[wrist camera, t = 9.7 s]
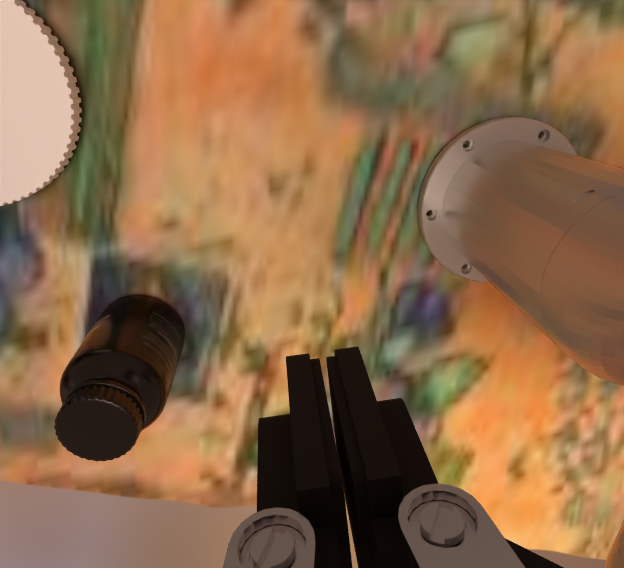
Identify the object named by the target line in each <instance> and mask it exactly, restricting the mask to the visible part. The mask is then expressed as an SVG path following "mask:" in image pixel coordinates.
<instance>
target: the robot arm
mask: <svg viewBox="0 0 624 568" xmlns="http://www.w3.org/2000/svg"><path fill="white" fill-rule="evenodd" d="M540 132H541V135H540V137H538V135H539V133H540ZM465 141H467V145H466V147H463V143H464V142H465ZM428 210H431V213H430V214H429V215H426V213H427V212H428ZM418 221H419V226H420V232H421V234H422V237H423V239H424V242H425V244H426V246H427V247H428V249H429V250H430V252H431V253H432V255H433V256H434V257H435V258H436V259H437V260H438V261H439V263H440V264H441V265H443V266H444V267H445V268H446V269H448V270H449V271H450V272H452V273H454V274H456V275H458V276H460V277H462V278H465V279H469V280H473V281H477V282H490V283H491V284H492V285H493V286H494V287H495V288H496V289H498V290H499V291H500V292H501V293H502V294H503V295H504V296H505V297H506V298H507V299H508V300H509V301H510V302H511V303H512V304H513V305H515V306H516V307H517V308H518V309H519V310H520V311H521V312H522V313H523V314H524V315H525V316H526V317H527V318H528V319H529V320H530V321H531V322H533V323H534V324H535V325H536V326H537V327H538V328H539V329H540V330H541V331H542V332H543V333H544V334H545V335H546V336H547V337H548V338H550V339H551V340H552V341H553V342H554V343H555V344H556V345H557V346H558V347H560V348H561V349H562V350H563V351H564V352H565V353H566V354H567V355H568V356H569V357H570V358H571V359H572V360H574V361H575V362H576V363H577V364H579V365H580V366H581V367H583V368H584V369H585V370H587V371H589V372H590V373H592V374H594V375H595V376H597V377H599V378H602V379H604V380H606V381H609V382H612V383H615V384H618V385H621V386H624V169H623V168H619V167H616V166H612V165H609V164H605V163H601V162H598V161H594V160H590V159H587V158H583V157H580V156H578V154H577V152H576V150H575V148H574V147H573V145H572V144H571V143H570V142H569V140H568V139H567V138H566V137H565V136H564V135H563V134H562V133H560V132H559V131H558V130H556V129H555V128H554V127H552V126H550V125H548V124H545V123H543V122H541V121H538V120H534V119H529V118H523V117H511V116H510V117H502V118H494V119H491V120H488V121H485V122H482V123H478V124H476V125H475V126H473V127H471V128H469V129H467V130H465V131H463V132H462V133H461V134H459V135H458V136H457V137H456V138H454V139H453V140H452V141H451V142H449V143H448V144H447V145H446V147H445V148H444V149H443V150H442V151H441V152H440V153H439V154H438V156H437V157H436V159H435V160H434V162H433V163H432V165H431V166H430V168H429V170H428V172H427V174H426V177H425V179H424V181H423V184H422V187H421V191H420V196H419V201H418ZM464 264H465V266H464V267H462V266H463V265H464ZM286 365H287V378H288V392H289V405H290V414H286V415H280V416H273V417H266V418H259V423H258V474H257V513H255V514H253V515H251V516H250V517H248V518H247V519H246V520H244V521H243V522H242V523H241V524H240V525H239V526H238V528H237V529H236V530H235V531H234V533H233V535H232V537H231V540H230V542H229V544H228V548H227V553H226V557H225V561H224V565H223V568H352V562H351V552H350V543H349V533H348V525H347V515H346V506H345V499H346V504H347V510H348V515H349V520H350V525H351V531H352V536H353V542H354V547H355V552H356V557H357V563H358V568H563V567H561V566H559V565H557V564H555V563H553V562H551V561H549V560H547V559H545V558H543V557H541V556H539V555H537V554H535V553H533V552H531V551H529V550H527V549H525V548H523V547H521V546H519V545H517V544H515V543H513V542H511V541H509V540H507V539H505V538H504V537H503V535H502V534H501V532H500V531H499V530H498V528H497V527H496V525H495V524H494V522H493V521H492V520H491V518H490V517H489V515H488V514H487V512H486V511H485V510H484V508H483V507H482V505H481V504H480V503H479V502H478V501H477V500H476V499H475V498H474V497H473V496H472V495H470V494H469V493H467V492H465V491H464V490H462V489H460V488H457V487H454V486H451V485H446V484H438V482H437V479H436V477H435V474H434V472H433V470H432V467H431V465H430V463H429V460H428V458H427V455H426V453H425V451H424V448H423V446H422V443H421V441H420V439H419V436H418V434H417V432H416V429H415V427H414V424H413V422H412V420H411V417H410V415H409V413H408V410H407V408H406V405H405V403H404V401H403V399H401V398H397V399H390V400H384V401H377V400H376V397H375V394H374V392H373V389H372V386H371V383H370V380H369V377H368V374H367V371H366V368H365V365H364V362H363V359H362V356H361V353H360V350H359V348H358V347H351V348H344V349H337V350H335V356H332V357H327V368H328V377H329V386H330V395H331V404H332V413H333V422H334V431H335V439H336V444H335V439H334V434H333V428H332V423H331V418H330V413H329V407H328V402H327V397H326V391H325V386H324V381H323V376H322V370H321V365H320V360H319V358H318V359H310V356H309V353H308V354H301V355H294V356H287V357H286ZM336 448H337V449H336ZM343 489H344V490H343ZM344 494H345V497H344ZM605 568H624V520H623V522H622V524H621V528H620V530H619V532H618V534H617V536H616V538H615V540H614V542H613V545H612V547H611V550H610V552H609V555H608V557H607V561H606V564H605Z"/></svg>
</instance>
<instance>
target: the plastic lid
mask: <svg viewBox="0 0 624 568" xmlns="http://www.w3.org/2000/svg"><path fill="white" fill-rule="evenodd" d="M43 22H44V21H43V19H42V18H41V17H37V16H35V11H34V10H33V9H31V8H28V7H26V3H25V2H24V1H22V0H0V206H3V205H5V204H7V203H8V204H11V203H13V202H15V201H20V200H22V199H24V198H26V197H28V196H30V195H32V194H34V193H36V192H38V191H39V190H41V189H43V188H44V187H46V185H48V184H50V183H51V182H52V180H53V179H55V178H57V177H58V176H59V175H58V173H60V172H62V171H63V170H64V168H63V166H65V165H67V164H68V163H69V161H68V158H71V157H72V156H73V153H72V150H74V149H76V145H75V141H78V140H79V136H77V133H78V132H80V130H81V127H79V123H80V122H82V118H81V117H79V113H81V112H82V108H80V107H79V103H81V98H79V97H78V93H79V92H80V91H79V88H78V87H76V84H75V83H76V82H77V79H76V77H73V74H72V72H74V70H73V67H70V66H69V64H68V62H69V61H70V60H69V58H68V57H67V56H65V55H64V53H63V52H64V48H63V47H62V46H59V45H58V43H57V42H58V39H57V37H56V36H52V34H51V29H50V28H49V27H48V26H45V25H44V24H43Z"/></svg>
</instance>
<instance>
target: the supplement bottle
mask: <svg viewBox="0 0 624 568" xmlns="http://www.w3.org/2000/svg"><path fill="white" fill-rule="evenodd" d="M183 344H184V330H183V326H182V323H181V321H180V319H179V317H178V316H177V315H176V313H175V312H174V311H173V310H172V309H171V308H170V307H168V306H167V305H166V304H164V303H162V302H160V301H158V300H156V299H153V298H149V297H144V296H131V297H126V298H122V299H120V300H118V301H116V302H114V303H112V304H111V305H110V306H108V307H107V308H106V309H105V310H104V312H103V313H102V314H101V316H100V317H99V318H98V320H97V321H96V323H95V324H94V326H93V327H92V329H91V330H90V332H89V333H88V335H87V336H86V338H85V339H84V341H83V342H82V344H81V345H80V347H79V349H78V350H77V352H76V353H75V355H74V356H73V358H72V359H71V361H70V362H69V364H68V365H67V367H66V369H65V371H64V372H63V375H62V378H61V381H60V396H61V401H62V403H63V404H62V407H61V408H60V410H59V412H58V414H57V417H56V419H55V427H54V428H55V430H56V435H57V436H58V440H59V441H60V442H61V443H62V446H64V447H66V449H67V450H68V451H70V452H72V453H73V454H74V455H77V456H79V457H80V458H85V459H87V460H94V461H106V460H113V459H114V458H119V457H120V456H122V455H125V454H126V452H128V451H130V450H131V448H132V447H133V446H134V445H135V443H136V440H137V439H138V437H139V434H140V432H141V431H142V430H144V429H145V428H147V427H148V426H150V425H151V424H152V423H153V422H155V421H156V420H157V418H158V417H159V416H160V414H161V413H162V411H163V409H164V407H165V404H166V402H167V398H168V395H169V392H170V389H171V385H172V382H173V379H174V375H175V372H176V369H177V365H178V362H179V359H180V355H181V352H182V348H183Z"/></svg>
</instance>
